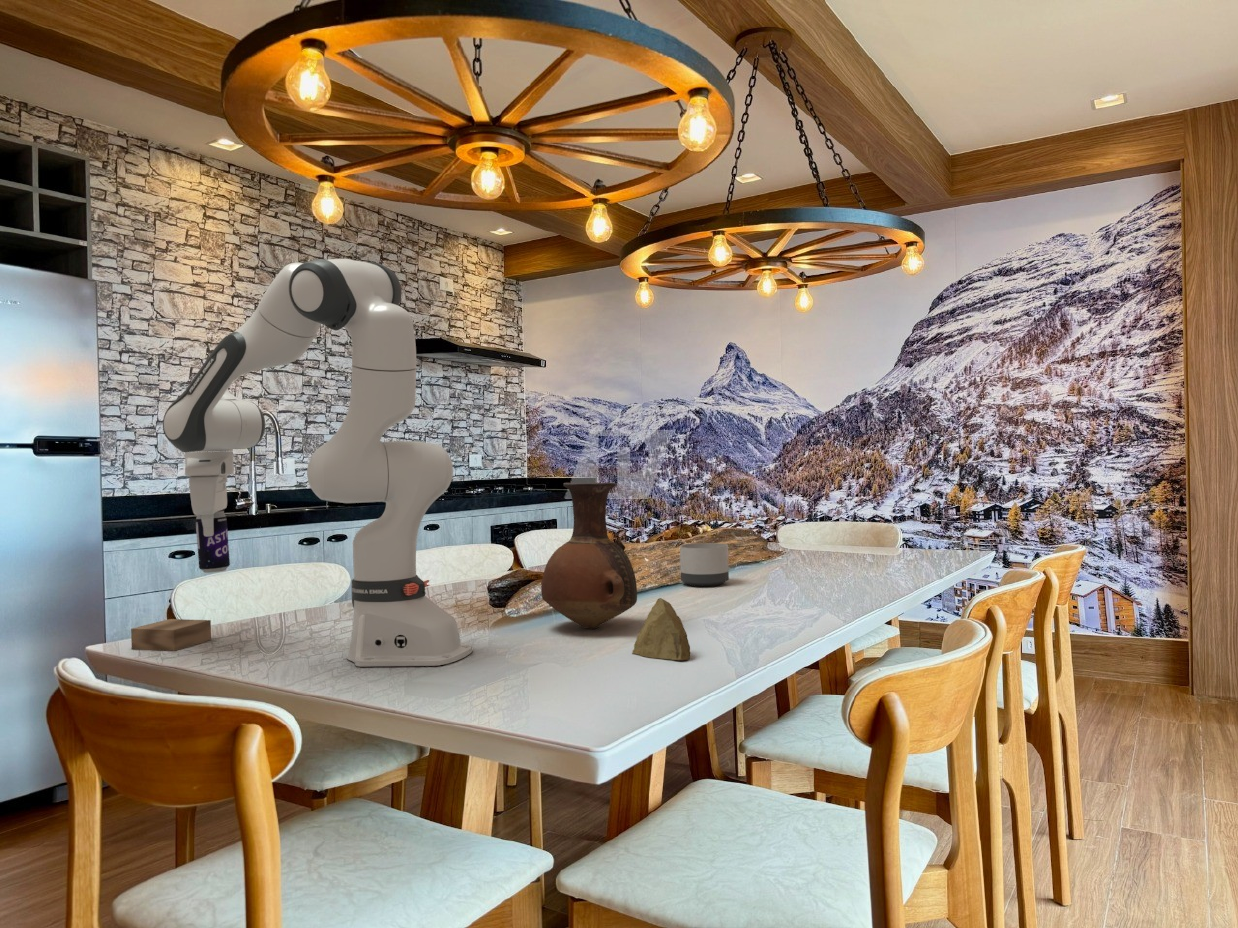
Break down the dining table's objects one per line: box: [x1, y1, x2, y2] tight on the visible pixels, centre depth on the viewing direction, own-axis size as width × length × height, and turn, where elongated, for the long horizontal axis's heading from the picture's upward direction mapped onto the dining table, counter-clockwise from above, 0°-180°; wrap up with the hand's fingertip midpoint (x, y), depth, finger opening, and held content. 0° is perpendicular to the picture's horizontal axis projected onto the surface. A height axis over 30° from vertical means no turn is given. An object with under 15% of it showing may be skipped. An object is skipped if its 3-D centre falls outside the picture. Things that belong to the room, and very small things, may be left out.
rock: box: [631, 597, 691, 661], centre depth 152 cm, size 11×9×10 cm
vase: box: [540, 482, 638, 630], centre depth 180 cm, size 25×20×30 cm
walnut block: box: [130, 618, 212, 652], centre depth 174 cm, size 10×10×4 cm
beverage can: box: [195, 510, 231, 574], centre depth 176 cm, size 6×6×12 cm
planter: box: [679, 542, 730, 588], centre depth 234 cm, size 13×13×10 cm
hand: (211, 534), depth 176 cm, fingers closed on beverage can, 6 cm apart
